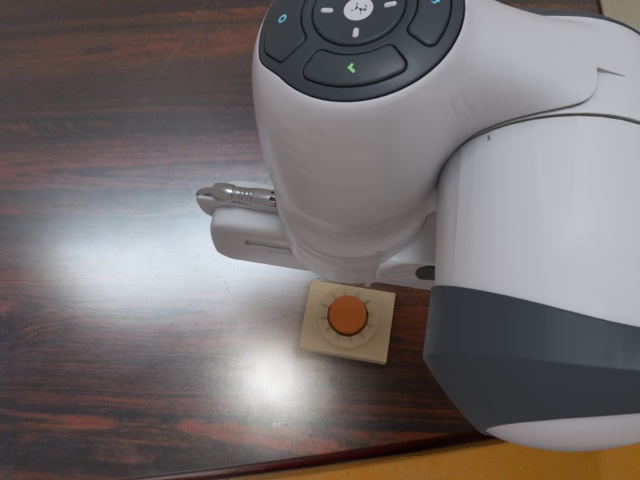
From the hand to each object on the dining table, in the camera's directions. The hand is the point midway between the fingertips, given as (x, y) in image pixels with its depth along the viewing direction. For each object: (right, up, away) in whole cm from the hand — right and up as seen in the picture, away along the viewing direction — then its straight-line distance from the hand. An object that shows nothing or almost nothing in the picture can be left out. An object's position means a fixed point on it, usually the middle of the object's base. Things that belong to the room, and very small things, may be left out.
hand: (349, 275), depth 45 cm
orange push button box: (+1, -7, +18) cm, 19 cm away
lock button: (+1, -6, +14) cm, 16 cm away
